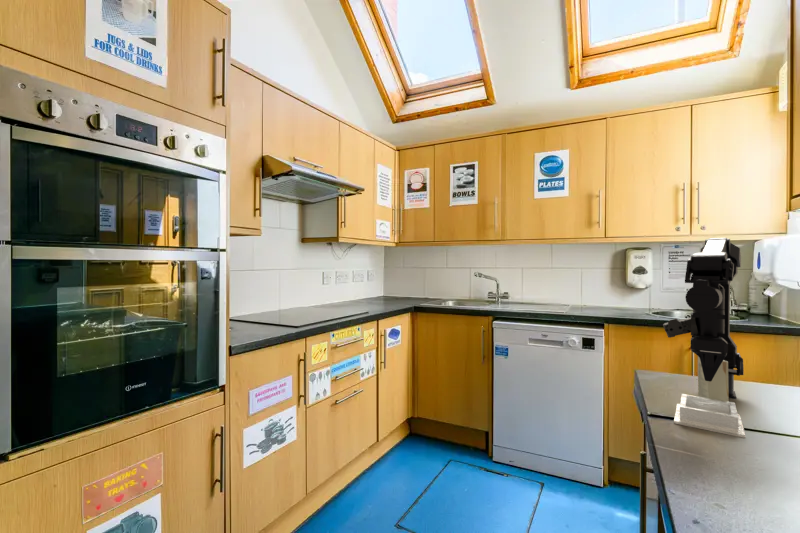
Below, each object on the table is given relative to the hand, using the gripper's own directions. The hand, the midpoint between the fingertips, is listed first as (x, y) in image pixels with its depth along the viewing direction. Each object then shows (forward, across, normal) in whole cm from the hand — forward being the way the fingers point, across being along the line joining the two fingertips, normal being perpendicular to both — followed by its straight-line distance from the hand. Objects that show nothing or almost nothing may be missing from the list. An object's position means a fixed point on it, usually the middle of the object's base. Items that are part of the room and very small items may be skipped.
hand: (707, 376), depth 89 cm
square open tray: (+10, 0, 0) cm, 10 cm away
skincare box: (+10, -12, +1) cm, 16 cm away
